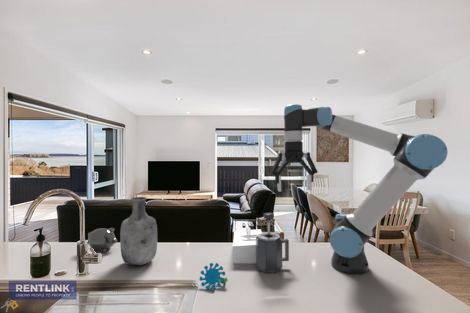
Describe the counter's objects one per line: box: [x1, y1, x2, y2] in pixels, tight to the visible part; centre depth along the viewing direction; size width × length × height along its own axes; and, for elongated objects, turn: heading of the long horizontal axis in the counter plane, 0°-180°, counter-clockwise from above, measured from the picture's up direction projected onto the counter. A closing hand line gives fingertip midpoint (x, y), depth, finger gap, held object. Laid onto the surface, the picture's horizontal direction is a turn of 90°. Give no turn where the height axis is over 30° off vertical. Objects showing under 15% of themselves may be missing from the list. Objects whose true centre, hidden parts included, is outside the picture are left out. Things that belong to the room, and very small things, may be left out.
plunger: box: [263, 212, 275, 237], centre depth 115 cm, size 8×8×14 cm
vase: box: [119, 196, 158, 266], centre depth 123 cm, size 16×16×30 cm
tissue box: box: [232, 226, 263, 264], centre depth 133 cm, size 14×25×11 cm, turn 178°
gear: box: [198, 262, 228, 291], centre depth 103 cm, size 11×6×10 cm
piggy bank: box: [87, 227, 118, 254], centre depth 139 cm, size 11×15×12 cm
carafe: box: [255, 231, 290, 275], centre depth 116 cm, size 14×11×14 cm
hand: (294, 190), depth 115 cm, fingers open, 13 cm apart
